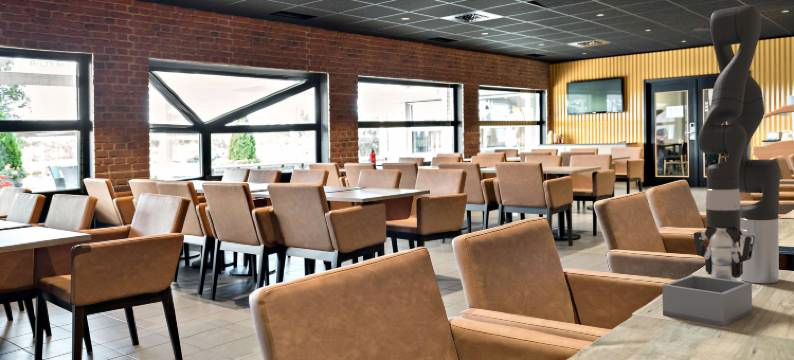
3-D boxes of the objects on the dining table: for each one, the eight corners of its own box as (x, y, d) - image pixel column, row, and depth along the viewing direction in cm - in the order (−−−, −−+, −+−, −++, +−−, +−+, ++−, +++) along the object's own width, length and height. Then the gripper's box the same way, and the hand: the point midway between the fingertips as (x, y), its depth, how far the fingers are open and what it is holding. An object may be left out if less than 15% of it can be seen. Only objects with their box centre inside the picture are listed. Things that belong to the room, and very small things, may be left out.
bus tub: (692, 303, 165) (691, 274, 164) (752, 313, 154) (751, 283, 153) (662, 314, 156) (662, 285, 155) (724, 326, 145) (723, 294, 144)
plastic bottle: (710, 297, 169) (709, 218, 168) (740, 299, 166) (739, 219, 164) (707, 303, 164) (706, 222, 162) (738, 306, 160) (737, 222, 159)
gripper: (760, 207, 160) (761, 277, 161) (701, 204, 171) (702, 269, 172) (747, 210, 155) (747, 282, 156) (686, 207, 166) (687, 274, 167)
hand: (723, 275), depth 164 cm, fingers closed on plastic bottle, 5 cm apart
